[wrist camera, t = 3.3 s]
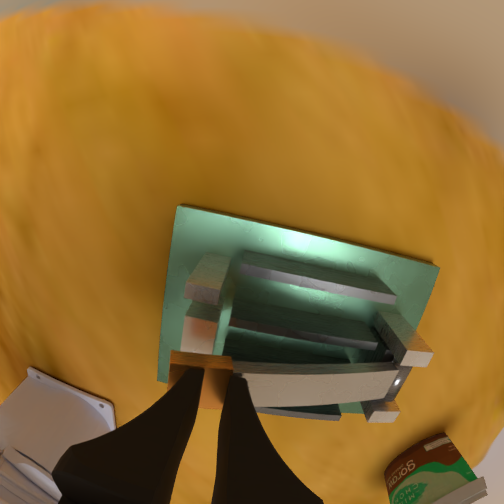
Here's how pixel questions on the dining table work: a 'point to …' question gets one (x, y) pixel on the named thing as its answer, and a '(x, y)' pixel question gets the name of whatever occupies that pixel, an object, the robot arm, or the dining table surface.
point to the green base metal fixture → (291, 301)
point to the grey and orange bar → (291, 380)
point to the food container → (433, 475)
